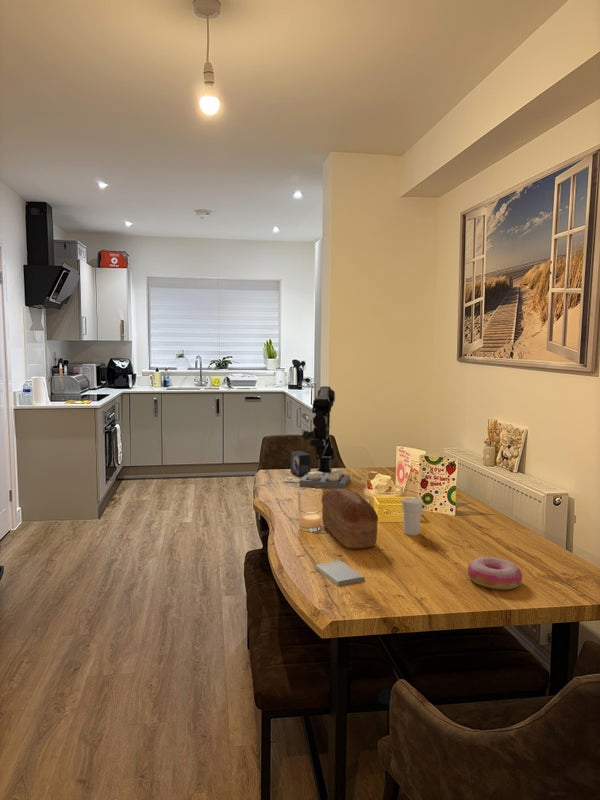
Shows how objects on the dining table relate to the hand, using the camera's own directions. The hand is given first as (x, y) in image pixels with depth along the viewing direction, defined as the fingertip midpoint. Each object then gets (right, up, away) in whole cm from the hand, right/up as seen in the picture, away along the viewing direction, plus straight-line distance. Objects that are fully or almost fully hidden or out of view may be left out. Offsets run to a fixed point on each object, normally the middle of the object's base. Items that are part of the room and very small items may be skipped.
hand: (320, 458), depth 252 cm
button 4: (+8, -8, +1) cm, 11 cm away
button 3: (+6, -9, -8) cm, 13 cm away
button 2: (-1, -10, +3) cm, 10 cm away
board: (-2, -10, -1) cm, 11 cm away
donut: (+42, -21, -108) cm, 118 cm away
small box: (-9, -9, +15) cm, 20 cm away
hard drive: (+1, -20, -105) cm, 107 cm away
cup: (+27, -17, -70) cm, 77 cm away
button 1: (-3, -9, -6) cm, 11 cm away
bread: (+6, -17, -75) cm, 77 cm away
